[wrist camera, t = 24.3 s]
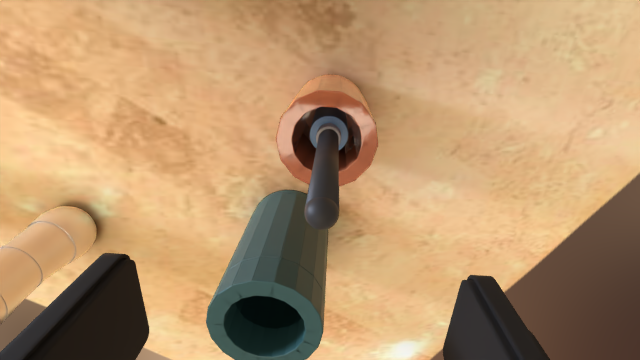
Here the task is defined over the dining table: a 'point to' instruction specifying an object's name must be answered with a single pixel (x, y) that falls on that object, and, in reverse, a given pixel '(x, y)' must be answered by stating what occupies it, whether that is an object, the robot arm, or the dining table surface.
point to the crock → (299, 119)
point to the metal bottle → (42, 253)
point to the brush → (325, 167)
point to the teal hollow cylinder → (273, 285)
